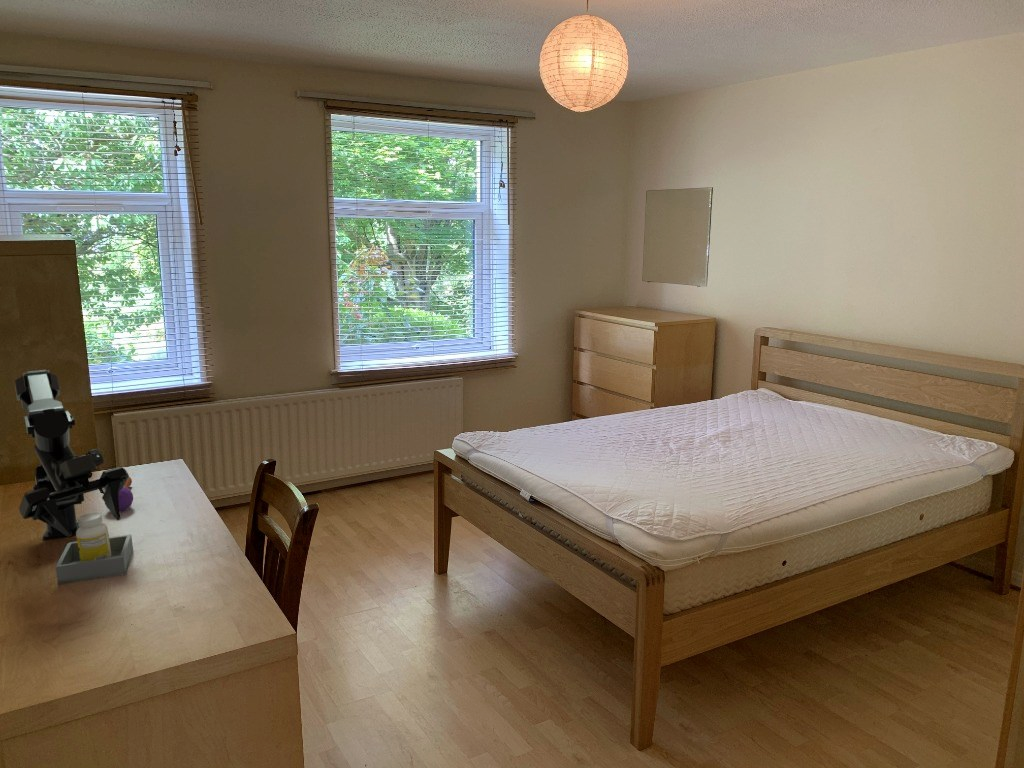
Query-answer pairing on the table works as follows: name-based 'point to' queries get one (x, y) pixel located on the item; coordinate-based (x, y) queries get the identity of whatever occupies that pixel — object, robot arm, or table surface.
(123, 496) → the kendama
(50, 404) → the robot arm
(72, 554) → the tray
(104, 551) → the supplement bottle
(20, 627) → the table surface
